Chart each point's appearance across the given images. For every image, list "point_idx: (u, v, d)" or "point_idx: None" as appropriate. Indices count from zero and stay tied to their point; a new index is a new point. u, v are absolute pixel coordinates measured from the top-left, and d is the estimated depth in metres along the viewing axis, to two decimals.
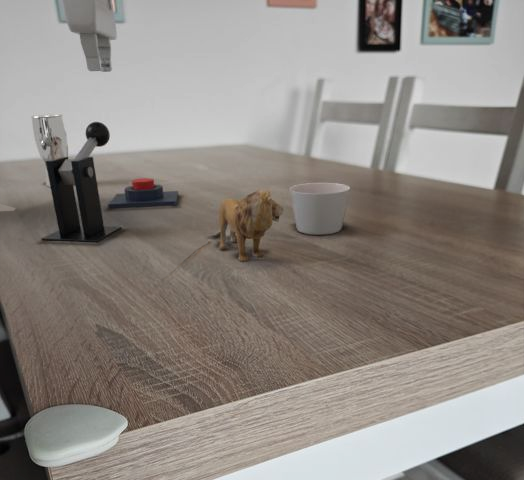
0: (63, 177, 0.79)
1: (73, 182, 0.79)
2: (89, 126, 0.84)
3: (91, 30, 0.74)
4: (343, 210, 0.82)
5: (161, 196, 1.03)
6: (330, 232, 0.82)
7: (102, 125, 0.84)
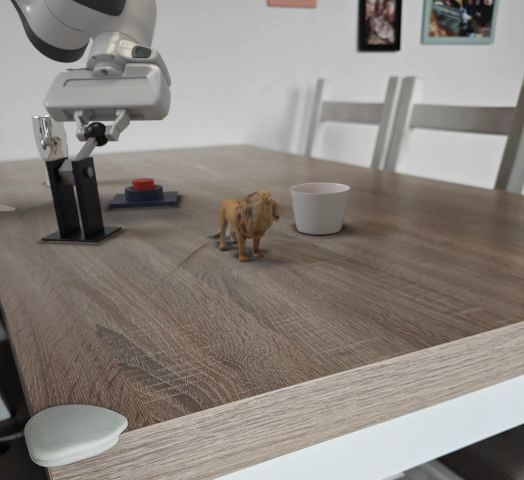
0: (63, 177, 0.79)
1: (73, 182, 0.79)
2: (89, 126, 0.84)
3: (161, 118, 0.86)
4: (343, 210, 0.82)
5: (161, 196, 1.03)
6: (330, 232, 0.82)
7: (102, 125, 0.84)
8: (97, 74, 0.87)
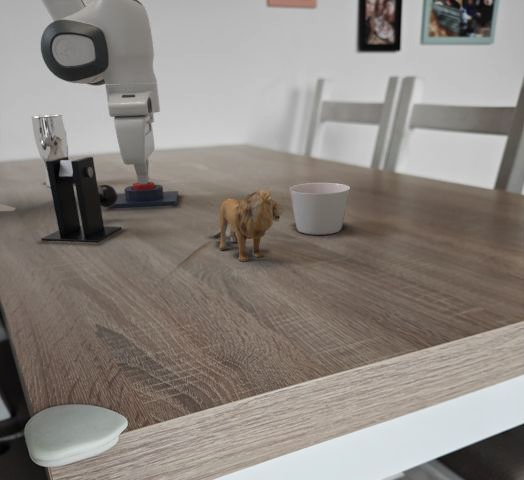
0: (61, 167, 0.78)
1: (69, 173, 0.78)
2: None
3: (141, 163, 0.93)
4: (343, 210, 0.82)
5: (161, 196, 1.03)
6: (330, 232, 0.82)
7: (114, 189, 0.89)
8: None
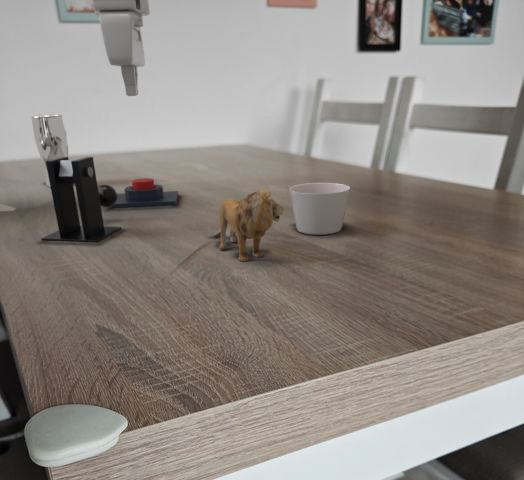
0: (61, 167, 0.78)
1: (69, 173, 0.78)
2: None
3: (128, 63, 0.86)
4: (343, 210, 0.82)
5: (161, 196, 1.03)
6: (330, 232, 0.82)
7: (114, 189, 0.89)
8: None
